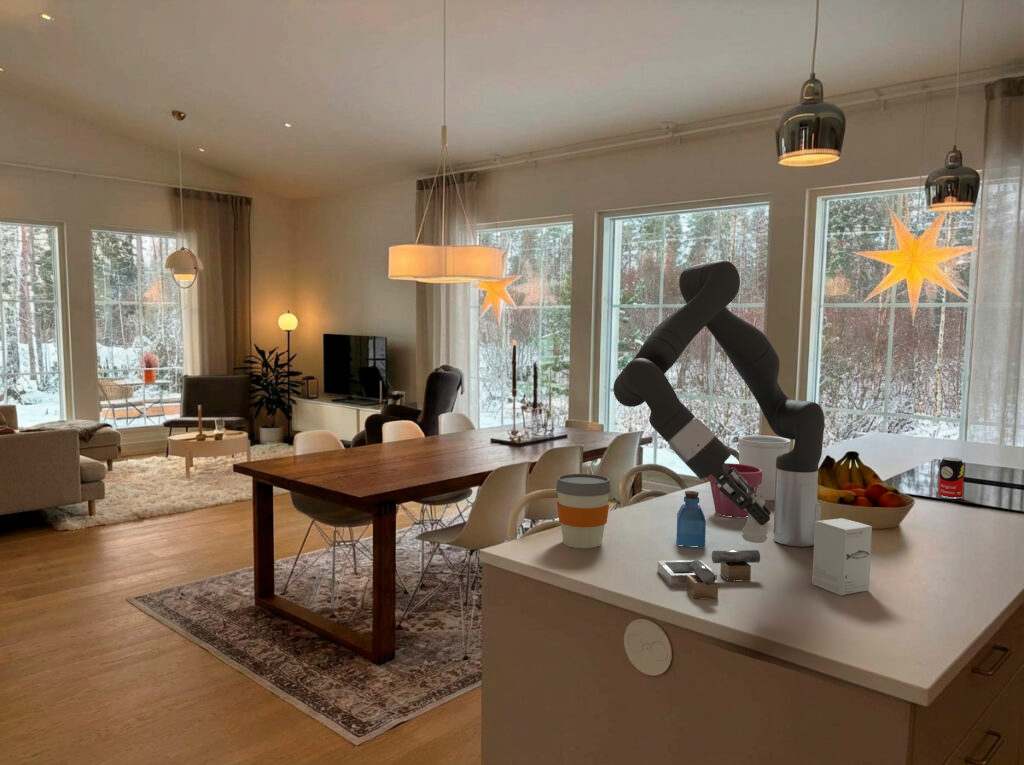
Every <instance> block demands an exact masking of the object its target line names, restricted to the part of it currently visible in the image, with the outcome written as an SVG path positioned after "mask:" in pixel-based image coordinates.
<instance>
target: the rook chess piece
mask: <svg viewBox="0 0 1024 765" xmlns="http://www.w3.org/2000/svg"><path fill="white" fill-rule="evenodd" d="M751 496H752V497H753V498H754V499H755V501H756V502H757V503H758V504H759V505H760V506H761V507H762V508H763V505H766V502H767V501H766V500H764V497H763V496H762V495H761V496H760V497H759V495H757V494H756V497H754V494H751ZM741 532H742V534H741V538H742V539H743V540H744V541H746V542H749V543H752V544H753V543H755V544H756V543H757V544H761V543H765V542H766V541H767V540H768V536H767V535H768V530H767V529H766V526H765V524H764V525H760V524H759V523H758V522H757V521H756V520H755V519H754V518H753V517H752V516H751V515H750V514H749V513H748V517H747V519H746V523H745V524H744V526H743V528H742V530H741Z"/></svg>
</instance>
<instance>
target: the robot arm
mask: <svg viewBox="0 0 1024 765" xmlns="http://www.w3.org/2000/svg"><path fill="white" fill-rule="evenodd" d="M678 286H679V290H680V294H681V296H682V298H683V300H684V301H685V303H686V304H685V305H683V306H681V307H680V308H678V309H677V310H675V311H674V312H673V313H672V314H669V316H667V317H666V318H665V319H664V320H663V321H662V322H660V323H659V324H658V325H657V327H655V329H654V330H653V331H652V333H651V334H649V336H648V337H647V339H646V340H645V341H644V342H643V345H642V346H641V347H640V350H639V351H638V352H637V354H636V355H635V356H634V358H632V359H631V360H630V361H629V362H628V363H627V364H626V366H625V367H624V368H623V369H622V371H621V372H620V373H619V374H618V375H617V377H616V379H614V383H613V396H614V397H615V399H616V400H617V402H618V403H619V404H621V405H622V406H624V407H630V408H634V407H639V406H641V405H642V404H644V403H645V404H646V405H647V407H648V408H649V410H650V414H649V417H648V421H649V424H650V425H651V426H652V428H653V429H654V430H655V431H656V432H657V434H659V436H660V437H662V439H664V440H665V442H667V444H668V446H670V448H671V449H672V451H673V452H674V453H675V454H676V456H678V458H679V459H680V460H681V461H682V462H683V463H684V464H685V465H686V466H687V467H688V469H690V470H691V472H693V473H694V475H696V477H697V478H698V479H699V480H701V481H703V480H705V479H707V477H708V476H709V475H712V476H713V477H714V478H715V479H716V481H717V483H716V485H717V486H718V487H719V489H720V491H721V492H722V493H724V494H725V495H726V496H727V497H728V498H729V499H730V500H731V501H732V502H733V503H735V504H736V505H737V506H738V507H739V508H740V509H741V510H745V511H746V510H747V512H748V513H749V514H750V515H751V516H752V517H753V518H754V519H755V520H756V521H757V522H758V523H759V524H760V525H764V526H765V525H766V524H767V523H769V521H771V511H770V509H769V508H768V507H767V506H766V504H764V505H763V508H762V507H761V506H760V505H759V504H758V503H757V502H756V501H755V499H754V498H753V497H752V496H751V494H754V497H756V493H755V491H754V489H753V488H752V487H751V486H750V485H749V484H748V482H747V481H746V480H745V479H744V478H743V477H742V476H741V474H740V473H739V472H738V471H737V469H736V468H734V467H732V468H730V467H729V466H728V465H727V464H726V462H727V460H728V459H729V458H730V457H731V456H732V452H731V450H730V449H729V448H728V447H727V446H726V444H724V443H723V442H722V441H721V440H720V438H719V437H718V436H716V434H714V433H713V431H711V429H710V428H709V427H708V426H707V425H705V424H704V422H702V421H701V420H699V418H697V417H696V416H695V414H694V413H693V412H691V410H689V408H688V407H687V406H685V404H683V402H681V401H680V399H679V397H678V395H677V393H676V391H675V389H674V388H673V386H672V384H671V383H670V381H669V380H668V377H667V376H666V373H667V372H668V371H669V370H670V369H671V368H672V367H673V365H675V363H676V362H677V360H679V358H680V356H681V355H682V354H683V353H684V351H685V350H686V348H687V347H688V346H689V344H690V343H691V342H692V341H693V340H694V338H695V337H696V336H697V335H698V334H699V333H700V332H701V331H702V330H703V329H704V328H705V327H706V328H707V330H708V331H709V332H710V334H711V335H712V336H713V338H714V339H715V341H716V342H717V343H718V344H719V346H720V347H721V349H722V350H723V351H724V353H725V355H726V356H727V358H728V359H729V362H730V363H731V365H732V366H733V368H735V370H736V372H737V373H738V374H739V376H740V377H741V379H742V380H743V381H744V383H745V385H746V386H747V388H748V389H749V390H750V392H751V395H752V396H753V397H754V399H755V400H756V402H757V404H758V405H759V408H760V411H761V412H762V413H763V416H764V418H765V419H766V421H767V423H768V425H769V427H770V429H771V430H772V432H773V433H774V434H775V435H776V436H777V437H782V438H787V439H789V440H794V443H793V448H792V449H791V450H789V452H788V453H785V454H780V455H778V456H777V458H776V480H775V500H774V516H773V541H774V542H776V543H778V544H781V545H785V546H790V547H791V546H792V547H812V546H814V531H815V521H821V512H822V511H821V510H822V509H821V508H822V506H821V503H820V502H818V488H819V486H818V485H819V484H818V482H819V464H820V461H821V459H822V455H823V443H824V433H825V416H824V415H825V414H824V410H823V408H822V407H821V406H820V404H818V403H816V402H815V401H808V400H798V399H797V400H796V399H791V398H789V397H788V396H787V395H786V394H785V393H784V392H783V390H782V388H781V387H780V384H779V382H778V379H779V374H780V366H781V365H780V364H781V363H780V358H779V355H778V354H777V352H776V350H775V348H774V346H773V345H772V344H771V342H770V340H769V339H768V336H766V335H765V334H764V333H763V331H761V330H760V329H759V328H757V327H756V326H754V325H753V324H752V323H749V322H748V321H746V320H745V319H743V318H741V317H740V316H738V315H737V314H734V313H733V312H732V311H730V309H729V308H727V306H729V304H730V303H732V301H734V300H735V298H736V297H737V295H738V294H739V290H740V286H741V278H740V273H739V271H738V268H737V267H736V266H735V265H734V264H733V263H732V262H731V261H729V260H725V259H721V260H720V259H719V260H712V261H707V262H704V263H698V264H695V265H692V266H688V267H686V268H685V269H684V270H683V271H682V272H681V273H680V276H679V279H678ZM740 499H741V500H742V501H741V500H740Z"/></svg>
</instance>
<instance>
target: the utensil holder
mask: <svg viewBox="0 0 1024 765" xmlns="http://www.w3.org/2000/svg"><path fill="white" fill-rule="evenodd" d="M738 444H739V446H738V447H739V449H738V451H739V452H738V464H744V465H750V466H754V467H758V468H760V469H761V470H762V483H761V484H760V485H758V488H757V492H756V494H757V495H759V497H760V496H761V495H762V496H763V497H764V500H765V501H775V480H776V458H777V456H778V455H780V454H785V453H788V452H790V446H791V439H787V438H782V437H780V436H777V435H776V436H774V435H764V434H763V435H762V434H761V435H760V434H759V435H758V434H756V435H755V434H754V435H753V434H751V435H749V434H747V435H740V436H739V437H738Z"/></svg>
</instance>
